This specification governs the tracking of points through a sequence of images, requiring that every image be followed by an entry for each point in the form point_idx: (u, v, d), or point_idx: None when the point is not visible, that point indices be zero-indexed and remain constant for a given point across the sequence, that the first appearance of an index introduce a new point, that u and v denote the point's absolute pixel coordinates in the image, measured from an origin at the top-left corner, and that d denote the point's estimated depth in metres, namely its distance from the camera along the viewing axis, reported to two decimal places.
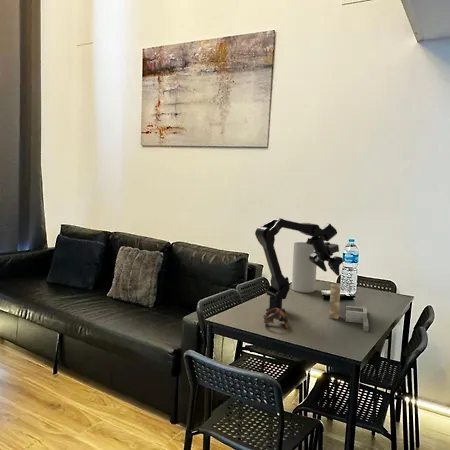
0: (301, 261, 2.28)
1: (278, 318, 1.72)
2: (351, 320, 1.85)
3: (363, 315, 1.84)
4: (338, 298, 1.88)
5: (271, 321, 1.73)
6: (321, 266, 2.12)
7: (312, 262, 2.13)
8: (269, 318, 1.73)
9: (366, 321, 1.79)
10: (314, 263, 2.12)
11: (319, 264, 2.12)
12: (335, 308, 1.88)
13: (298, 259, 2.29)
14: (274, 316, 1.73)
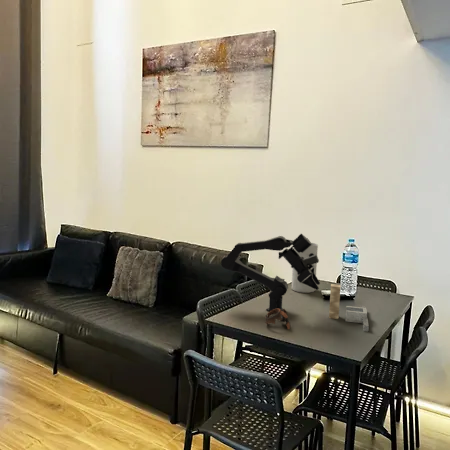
0: None
1: (280, 318, 1.72)
2: (351, 320, 1.85)
3: (363, 315, 1.84)
4: (338, 298, 1.88)
5: (273, 322, 1.72)
6: None
7: None
8: (271, 318, 1.73)
9: (366, 321, 1.79)
10: None
11: None
12: (335, 308, 1.88)
13: None
14: (276, 316, 1.72)
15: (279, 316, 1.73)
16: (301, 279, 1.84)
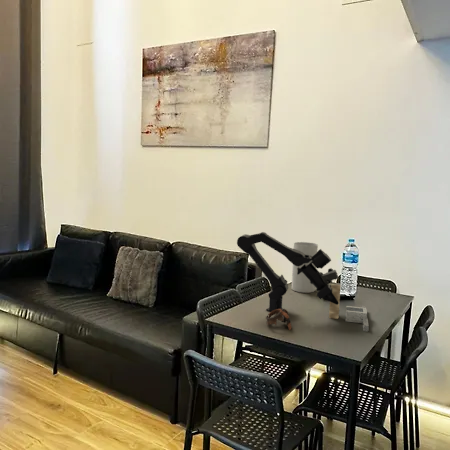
0: None
1: (281, 319, 1.71)
2: (351, 320, 1.85)
3: (363, 315, 1.84)
4: (338, 298, 1.88)
5: (274, 322, 1.71)
6: None
7: None
8: (272, 319, 1.72)
9: (366, 321, 1.79)
10: None
11: None
12: (335, 308, 1.88)
13: None
14: (277, 317, 1.72)
15: (280, 316, 1.72)
16: (321, 296, 1.82)
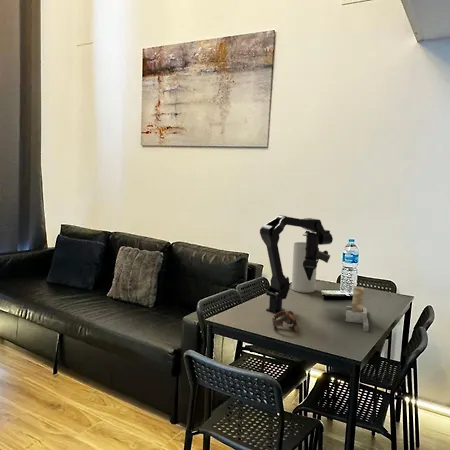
0: (301, 261, 2.28)
1: (288, 321, 1.69)
2: (351, 320, 1.85)
3: (363, 315, 1.84)
4: (361, 300, 1.85)
5: (281, 324, 1.69)
6: None
7: None
8: (278, 321, 1.70)
9: (366, 321, 1.79)
10: None
11: None
12: (358, 310, 1.86)
13: (298, 259, 2.29)
14: (284, 319, 1.70)
15: (287, 318, 1.70)
16: (306, 264, 1.97)
